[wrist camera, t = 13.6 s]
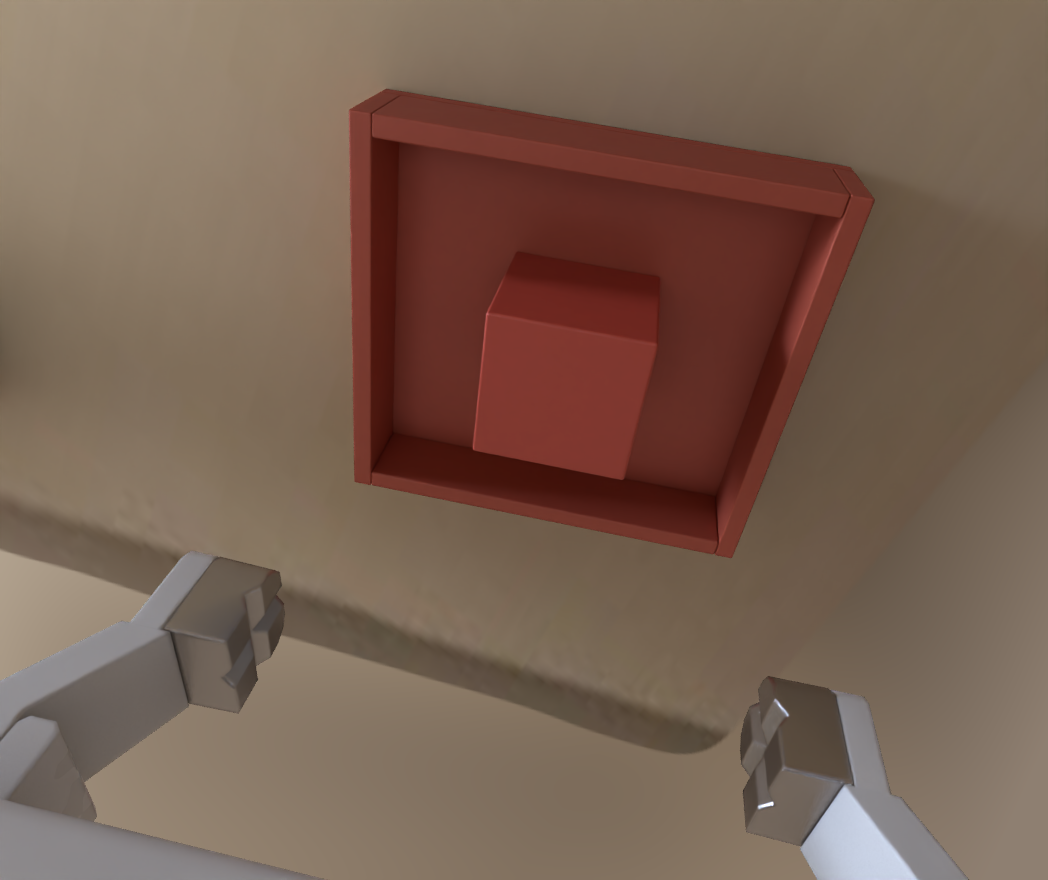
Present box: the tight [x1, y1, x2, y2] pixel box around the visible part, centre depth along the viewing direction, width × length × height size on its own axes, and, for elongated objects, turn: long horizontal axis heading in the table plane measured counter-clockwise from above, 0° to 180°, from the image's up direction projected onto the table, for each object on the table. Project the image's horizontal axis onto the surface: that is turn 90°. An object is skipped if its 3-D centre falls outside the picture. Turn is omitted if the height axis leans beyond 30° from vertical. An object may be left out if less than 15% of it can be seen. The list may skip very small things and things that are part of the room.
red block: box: [473, 252, 661, 480], centre depth 22 cm, size 4×4×4 cm
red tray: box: [349, 89, 875, 558], centre depth 23 cm, size 13×12×3 cm
